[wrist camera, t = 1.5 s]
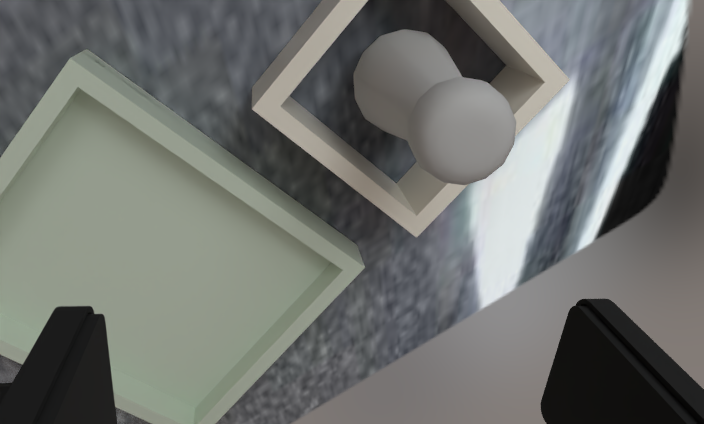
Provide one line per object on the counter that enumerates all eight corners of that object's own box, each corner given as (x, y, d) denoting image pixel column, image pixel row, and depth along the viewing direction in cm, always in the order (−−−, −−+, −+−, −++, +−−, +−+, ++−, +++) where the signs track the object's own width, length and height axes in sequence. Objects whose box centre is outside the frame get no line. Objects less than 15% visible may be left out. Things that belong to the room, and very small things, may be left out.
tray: (86, 48, 29) (70, 58, 27) (357, 245, 37) (365, 267, 34) (-76, 278, 33) (-104, 306, 31) (199, 412, 41) (196, 443, 38)
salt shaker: (327, 87, 32) (368, 160, 21) (385, 3, 31) (464, 32, 19) (402, 139, 34) (477, 232, 23) (459, 63, 33) (571, 121, 21)
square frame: (391, -86, 29) (416, -94, 24) (528, 63, 34) (569, 80, 29) (252, 87, 32) (251, 109, 27) (396, 202, 36) (416, 237, 32)
